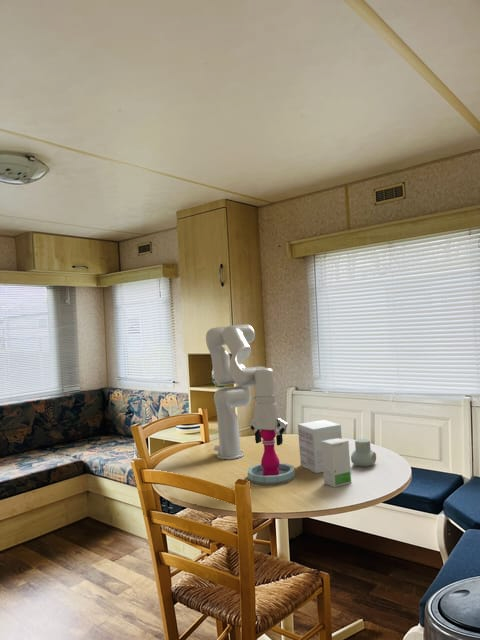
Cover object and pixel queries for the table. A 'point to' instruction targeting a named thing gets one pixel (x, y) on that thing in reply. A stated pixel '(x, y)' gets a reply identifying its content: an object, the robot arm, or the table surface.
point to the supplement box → (315, 442)
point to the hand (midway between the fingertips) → (269, 443)
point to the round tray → (284, 475)
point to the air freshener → (363, 454)
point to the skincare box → (336, 462)
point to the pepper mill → (269, 453)
